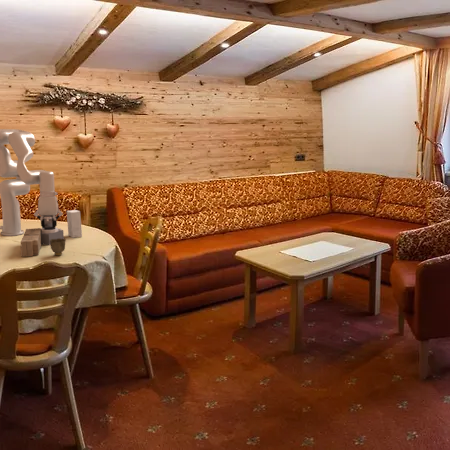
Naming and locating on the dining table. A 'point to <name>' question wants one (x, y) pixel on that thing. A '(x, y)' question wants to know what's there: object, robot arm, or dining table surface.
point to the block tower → (31, 242)
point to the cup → (58, 246)
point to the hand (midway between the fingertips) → (49, 227)
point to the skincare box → (74, 223)
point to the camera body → (50, 235)
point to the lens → (48, 222)
